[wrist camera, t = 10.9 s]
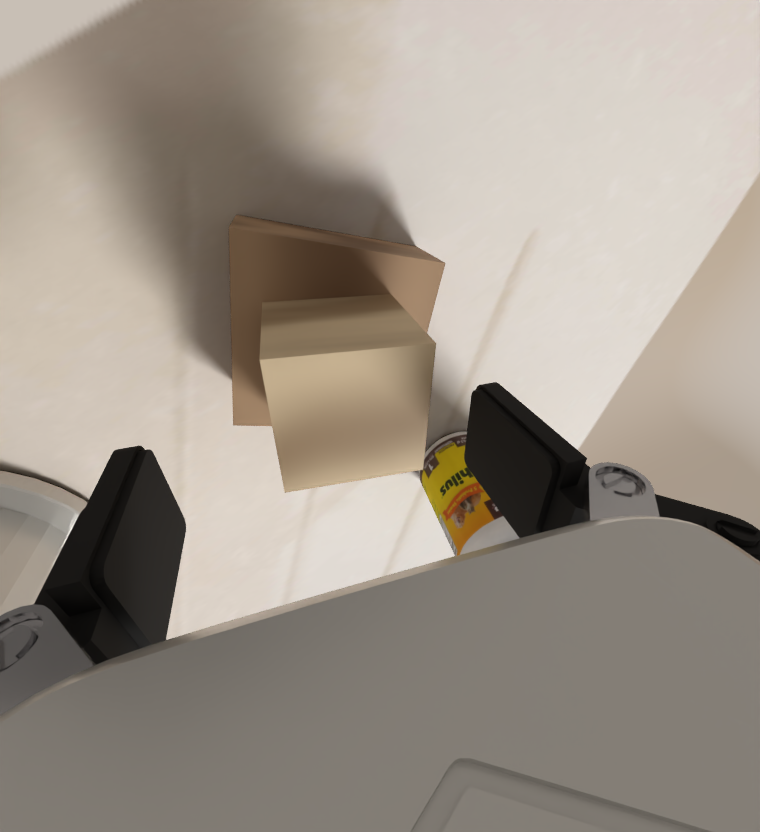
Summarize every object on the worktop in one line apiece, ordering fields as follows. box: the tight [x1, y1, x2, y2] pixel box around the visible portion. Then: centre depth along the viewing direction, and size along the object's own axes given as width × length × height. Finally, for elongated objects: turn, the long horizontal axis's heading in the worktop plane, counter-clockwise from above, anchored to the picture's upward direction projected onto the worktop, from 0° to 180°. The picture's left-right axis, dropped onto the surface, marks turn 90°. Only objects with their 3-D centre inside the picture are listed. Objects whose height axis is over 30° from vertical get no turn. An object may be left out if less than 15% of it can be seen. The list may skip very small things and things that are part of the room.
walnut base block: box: [229, 215, 445, 426], centre depth 17 cm, size 8×8×4 cm
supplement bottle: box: [419, 432, 519, 556], centre depth 22 cm, size 6×6×10 cm
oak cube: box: [259, 294, 436, 493], centre depth 14 cm, size 5×5×5 cm
